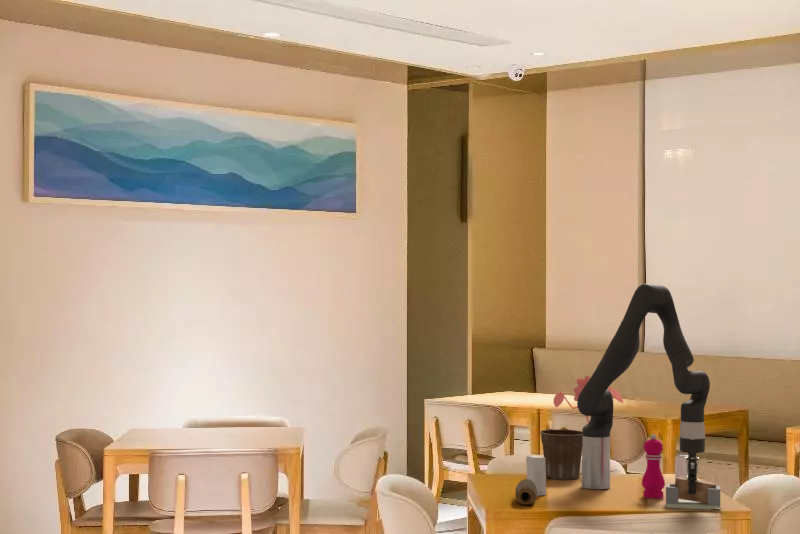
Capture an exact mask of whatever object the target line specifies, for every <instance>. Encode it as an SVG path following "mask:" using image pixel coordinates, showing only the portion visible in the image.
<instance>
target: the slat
mask: <svg viewBox="0 0 800 534" xmlns="http://www.w3.org/2000/svg"><path fill="white" fill-rule="evenodd" d="M674 484H675V487H678V500H690V501H695V502H701V503H706V504H708V488H713V489H716V486H717V484H716V483H714V482H710V481H703V480H698V479H697V481H696V494H689V481H688V479H687V478H681V477H676V480H675V479H674Z"/></svg>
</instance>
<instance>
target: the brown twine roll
mask: <svg viewBox="0 0 800 534" xmlns="http://www.w3.org/2000/svg"><path fill="white" fill-rule="evenodd" d="M537 496H538V495H537V488H536V485H535V483H534V482H533V481H532V480H530V479H527V478H524V479H521V480H520V481H519V482H518V483H517V485H516V487H515V499H516V501H517V502H518V504H520V505H524V506H525V505H532V504H534V503H535V502H536V500H537Z"/></svg>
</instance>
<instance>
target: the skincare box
mask: <svg viewBox="0 0 800 534" xmlns="http://www.w3.org/2000/svg"><path fill="white" fill-rule="evenodd" d="M525 457H526V458H525V462H526V463H525V464H526V479H530V480H532V481H533V482H534V483H535V485H536V488H537V496H546V495H547V477H546V464H545V457H544V456H541V455H534V454H533V455H527V456H525Z"/></svg>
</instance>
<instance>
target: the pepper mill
mask: <svg viewBox="0 0 800 534" xmlns="http://www.w3.org/2000/svg"><path fill="white" fill-rule="evenodd" d="M643 450H644V451H645V453H646V454H645V459H646V470H645V472H644V474H643V476H642V479H641V485H642V487H643V488H644V490H643V493H642V494H643V497H644V498H645V499H656V500H657V499H663V498H664V491H663V489H664V488H665V487H666V482H665V477H664V475H663V473H662V470H661V465H660V464H661V460H662V452H663V450H664V446H663V443H662V442H661V440H659V439H657V435H656V434H654V433H653V434H651V435H650V438H649V439H647V440H646V441H645V442H644V444H643Z"/></svg>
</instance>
